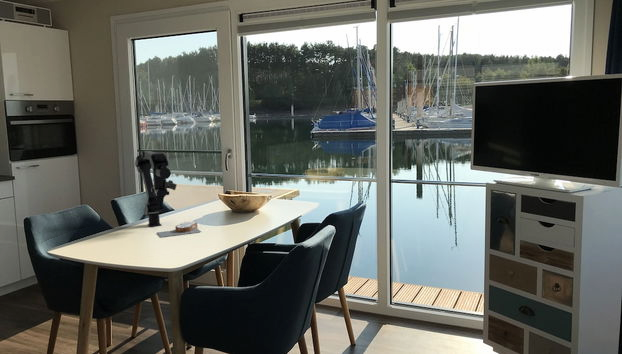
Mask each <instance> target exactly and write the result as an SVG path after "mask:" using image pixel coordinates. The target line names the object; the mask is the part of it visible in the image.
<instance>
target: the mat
mask: <svg viewBox="0 0 622 354" xmlns="http://www.w3.org/2000/svg"><path fill="white" fill-rule="evenodd" d="M200 232H201V233H202V231H201V230H200V229H199V228H198V227H197V228H196V229H194V230H192V231H190V232H184V233H178V232H176V229H174V230H167V231H159V232H156V234H157V235H158V236H159V237H160V238H168V237H176V236H183V235H184V236H185V235H191V234H199V233H200Z"/></svg>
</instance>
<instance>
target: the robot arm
mask: <svg viewBox="0 0 622 354" xmlns="http://www.w3.org/2000/svg"><path fill="white" fill-rule="evenodd" d="M167 158H168V157H167V156H166V154H165V152H154V151H152V150H149V149H147V150H142V151H141V152H140V153H139V154H138V155H137V156H136V158H135V159H134V160H135V161H134V166H135V167H136V171H137V172H138V173H139V174H140V175H141V176H142V177H141V179H142V182H143V184H144V185H143V186H144V190H145V193H146V197H147V198H146V201H145V207H144V211H143V212H144V216H147V217H148V218H147V219H148V223H147V226H148V227H149V228H151V227H159V226H162V224H161V221H160V215H162V214H164V213H163V212H164V204H163V203H164V199H165V197H166V196H170V190H172V191H176V189H177V183H174V181H173V180H168V181H167V179H169V178H171V177H170V176H171V174H172V172H171V169H169V168H168V167H169V160H168V159H167ZM151 170H152V174H151Z"/></svg>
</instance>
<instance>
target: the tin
mask: <svg viewBox="0 0 622 354" xmlns="http://www.w3.org/2000/svg"><path fill="white" fill-rule="evenodd" d="M196 228H197V229H198V223H197V222H196V221H184V222H182V223H179V224H177V225H176V226H175V230H176V232H178V233H184V232H190V231H192V230H194V229H196Z"/></svg>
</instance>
